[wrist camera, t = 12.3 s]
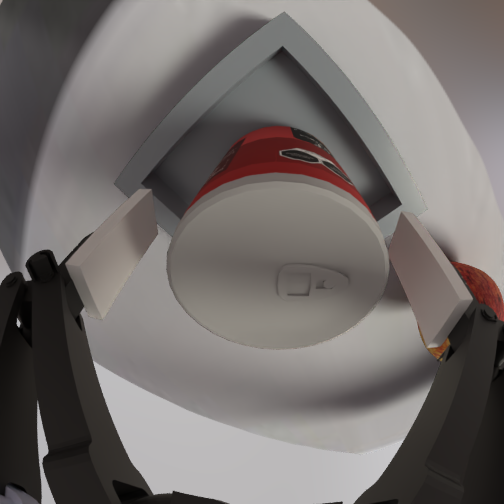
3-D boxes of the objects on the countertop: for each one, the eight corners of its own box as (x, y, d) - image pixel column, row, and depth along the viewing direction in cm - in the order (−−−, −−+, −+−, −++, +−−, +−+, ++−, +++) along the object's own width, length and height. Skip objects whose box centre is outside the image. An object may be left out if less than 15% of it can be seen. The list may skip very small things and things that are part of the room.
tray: (411, 191, 18) (427, 209, 16) (264, 288, 25) (262, 312, 23) (283, 22, 12) (284, 11, 10) (132, 169, 19) (113, 183, 17)
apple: (485, 248, 20) (533, 316, 12) (449, 309, 25) (478, 378, 17) (426, 235, 20) (479, 319, 12) (390, 307, 26) (415, 389, 17)
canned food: (345, 211, 19) (391, 331, 10) (244, 237, 21) (218, 360, 12) (320, 109, 15) (380, 148, 6) (204, 145, 17) (125, 225, 8)
